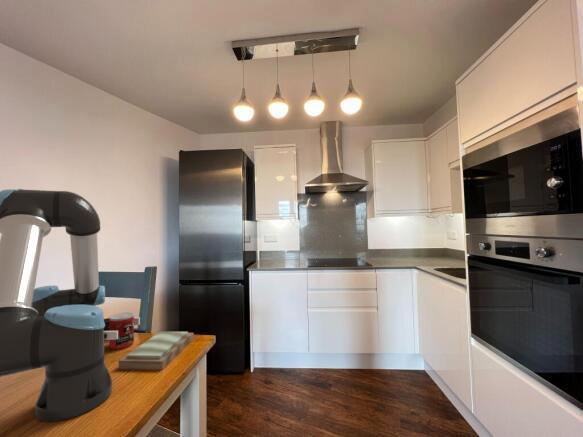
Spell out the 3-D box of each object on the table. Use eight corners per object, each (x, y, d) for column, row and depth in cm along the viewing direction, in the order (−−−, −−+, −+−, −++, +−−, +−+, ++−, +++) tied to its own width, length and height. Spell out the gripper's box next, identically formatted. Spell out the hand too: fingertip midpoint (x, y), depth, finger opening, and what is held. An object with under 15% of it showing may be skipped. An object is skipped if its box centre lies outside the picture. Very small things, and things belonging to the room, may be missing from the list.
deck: (162, 369, 83) (162, 358, 83) (118, 369, 84) (118, 357, 84) (193, 339, 105) (193, 330, 105) (158, 339, 106) (158, 330, 106)
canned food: (117, 352, 95) (116, 320, 96) (104, 347, 99) (104, 317, 100) (138, 343, 102) (138, 313, 102) (126, 339, 106) (126, 311, 106)
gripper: (95, 326, 113) (146, 325, 113) (40, 355, 88) (106, 353, 88) (95, 308, 113) (146, 307, 113) (40, 332, 88) (106, 330, 89)
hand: (129, 327), depth 101 cm, fingers open, 13 cm apart
